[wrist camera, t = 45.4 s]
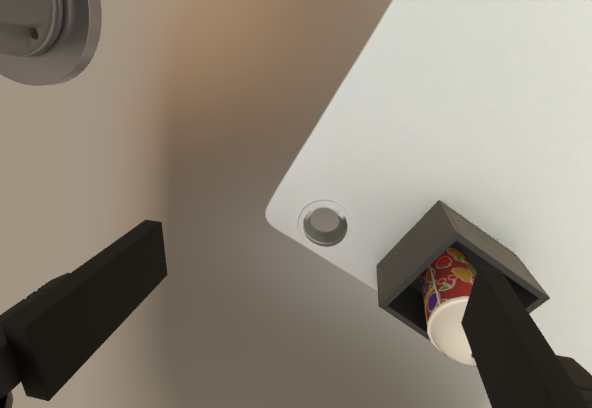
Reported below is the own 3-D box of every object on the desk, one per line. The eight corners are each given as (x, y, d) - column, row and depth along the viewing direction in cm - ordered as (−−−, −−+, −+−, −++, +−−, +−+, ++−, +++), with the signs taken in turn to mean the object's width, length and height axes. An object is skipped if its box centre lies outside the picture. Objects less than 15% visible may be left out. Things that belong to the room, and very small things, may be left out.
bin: (376, 265, 53) (378, 306, 44) (438, 199, 47) (455, 231, 38) (446, 313, 54) (462, 363, 45) (516, 254, 48) (550, 298, 39)
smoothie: (400, 268, 51) (419, 381, 33) (436, 226, 48) (479, 327, 30) (447, 296, 52) (491, 423, 34) (487, 257, 48) (560, 375, 30)
